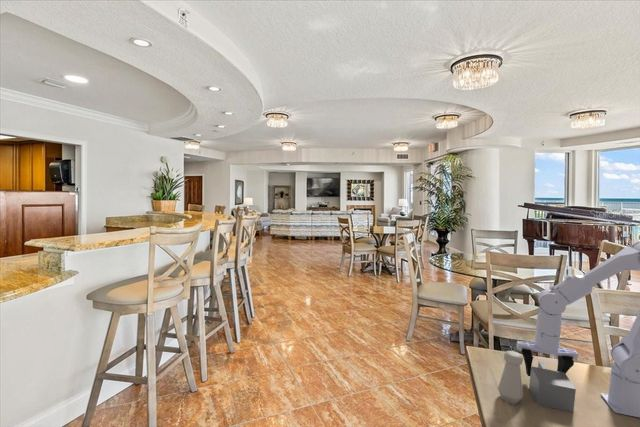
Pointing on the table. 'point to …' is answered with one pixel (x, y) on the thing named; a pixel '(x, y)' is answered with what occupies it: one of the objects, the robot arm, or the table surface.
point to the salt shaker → (511, 378)
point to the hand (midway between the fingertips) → (543, 377)
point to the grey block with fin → (552, 388)
